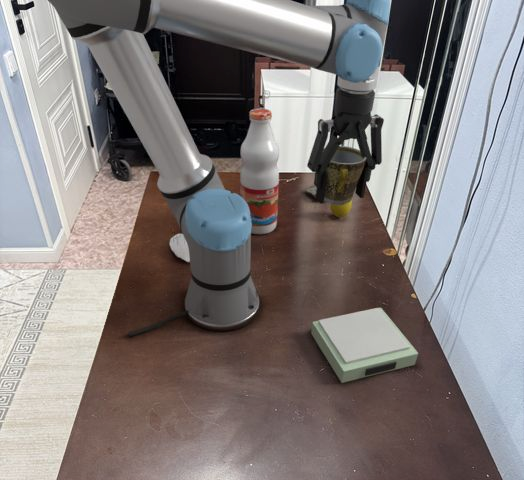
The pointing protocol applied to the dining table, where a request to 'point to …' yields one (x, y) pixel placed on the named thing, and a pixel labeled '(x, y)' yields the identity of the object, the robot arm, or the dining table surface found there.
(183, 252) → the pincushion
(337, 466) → the dining table surface
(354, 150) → the ceramic cup
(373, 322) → the kitchen scale
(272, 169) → the fruit juice
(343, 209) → the lemon
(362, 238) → the dining table surface
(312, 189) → the rock sample
